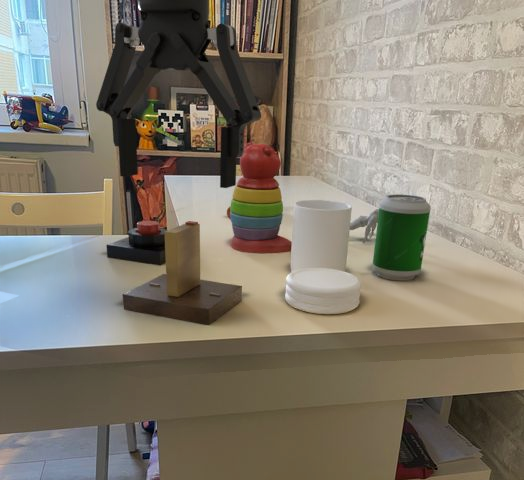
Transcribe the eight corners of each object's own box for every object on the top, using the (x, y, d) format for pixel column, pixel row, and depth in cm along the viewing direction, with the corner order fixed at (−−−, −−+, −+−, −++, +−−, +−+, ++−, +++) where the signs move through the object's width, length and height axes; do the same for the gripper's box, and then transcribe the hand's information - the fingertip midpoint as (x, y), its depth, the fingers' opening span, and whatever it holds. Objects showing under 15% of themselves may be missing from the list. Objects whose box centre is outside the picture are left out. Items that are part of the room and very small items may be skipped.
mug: (334, 261, 95) (340, 196, 90) (350, 282, 84) (358, 210, 79) (283, 260, 94) (287, 195, 89) (294, 282, 83) (298, 209, 79)
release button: (133, 234, 92) (132, 223, 91) (145, 230, 95) (144, 219, 94) (152, 236, 91) (151, 226, 90) (163, 232, 94) (163, 222, 93)
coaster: (372, 311, 73) (376, 286, 71) (302, 318, 69) (304, 292, 68) (338, 288, 81) (340, 264, 80) (274, 293, 78) (275, 269, 76)
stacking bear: (297, 250, 100) (303, 145, 93) (250, 257, 95) (253, 146, 88) (263, 237, 108) (266, 140, 101) (218, 243, 103) (218, 141, 96)
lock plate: (123, 309, 70) (122, 292, 69) (164, 287, 79) (163, 272, 78) (208, 325, 67) (208, 308, 66) (242, 300, 75) (242, 284, 74)
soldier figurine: (330, 252, 110) (390, 237, 104) (323, 225, 108) (383, 209, 102) (339, 245, 115) (396, 231, 109) (332, 219, 113) (390, 204, 108)
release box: (107, 257, 92) (105, 233, 90) (140, 244, 100) (139, 222, 99) (160, 265, 88) (159, 241, 87) (190, 251, 97) (189, 228, 95)
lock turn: (178, 297, 69) (176, 230, 66) (166, 295, 70) (164, 229, 66) (200, 284, 74) (199, 221, 71) (189, 282, 75) (188, 220, 71)
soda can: (416, 284, 84) (429, 203, 79) (367, 278, 86) (376, 198, 81) (421, 271, 91) (433, 196, 86) (375, 266, 93) (384, 192, 88)
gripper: (297, -24, 58) (284, 187, 67) (97, -20, 66) (109, 168, 75) (271, -40, 51) (260, 196, 60) (53, -33, 59) (72, 174, 68)
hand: (177, 181), depth 67 cm, fingers open, 13 cm apart
